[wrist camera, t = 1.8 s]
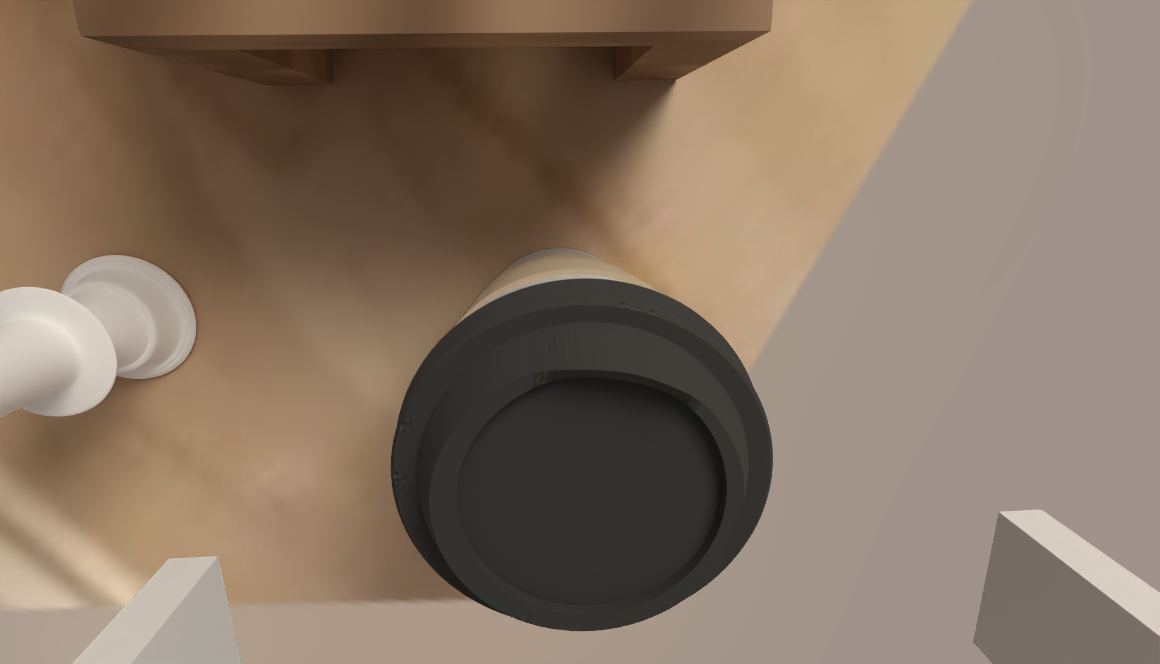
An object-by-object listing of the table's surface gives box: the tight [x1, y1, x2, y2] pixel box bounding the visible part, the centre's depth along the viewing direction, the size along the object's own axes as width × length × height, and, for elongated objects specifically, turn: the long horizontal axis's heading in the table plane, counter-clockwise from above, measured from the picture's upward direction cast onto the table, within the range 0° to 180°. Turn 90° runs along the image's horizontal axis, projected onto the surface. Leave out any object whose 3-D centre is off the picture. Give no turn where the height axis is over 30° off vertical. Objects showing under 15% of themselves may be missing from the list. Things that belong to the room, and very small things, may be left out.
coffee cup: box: [391, 248, 773, 631], centre depth 20 cm, size 9×9×15 cm
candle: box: [0, 255, 196, 418], centre depth 20 cm, size 5×5×12 cm
